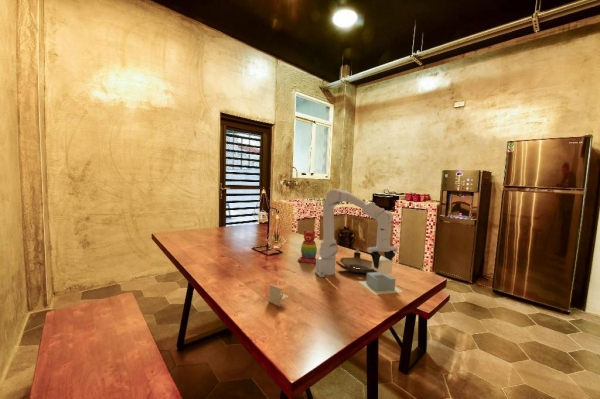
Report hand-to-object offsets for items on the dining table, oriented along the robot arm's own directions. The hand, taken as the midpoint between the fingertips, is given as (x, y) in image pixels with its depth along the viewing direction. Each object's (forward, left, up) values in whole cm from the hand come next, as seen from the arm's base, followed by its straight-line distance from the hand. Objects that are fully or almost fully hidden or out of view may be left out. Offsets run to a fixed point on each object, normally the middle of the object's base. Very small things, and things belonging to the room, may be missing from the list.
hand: (381, 267), depth 117 cm
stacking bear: (-20, +43, -10) cm, 48 cm away
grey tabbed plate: (-49, -3, -11) cm, 50 cm away
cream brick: (0, 0, -2) cm, 2 cm away
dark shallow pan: (+3, +24, -10) cm, 26 cm away
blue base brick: (0, 0, -9) cm, 9 cm away
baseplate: (0, 0, -10) cm, 10 cm away
